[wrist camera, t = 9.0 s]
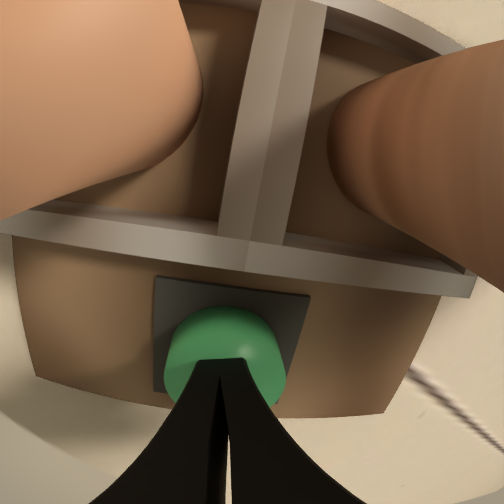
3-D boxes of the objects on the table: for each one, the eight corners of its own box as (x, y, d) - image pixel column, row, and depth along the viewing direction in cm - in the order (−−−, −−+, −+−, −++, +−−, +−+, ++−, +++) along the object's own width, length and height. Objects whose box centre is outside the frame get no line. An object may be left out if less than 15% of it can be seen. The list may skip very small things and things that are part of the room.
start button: (288, 312, 10) (299, 341, 8) (265, 393, 11) (271, 424, 9) (173, 298, 9) (165, 326, 8) (169, 383, 10) (163, 414, 9)
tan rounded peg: (214, 31, 7) (204, -117, 1) (192, 178, 8) (127, 243, 3) (75, 35, 6) (-49, -37, 1) (55, 170, 8) (-100, 217, 2)
